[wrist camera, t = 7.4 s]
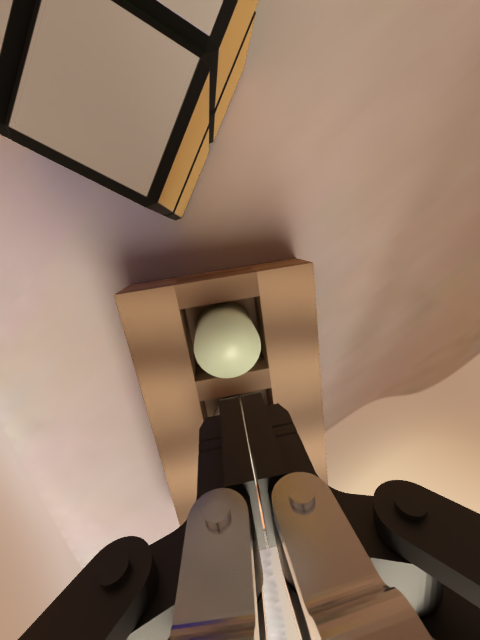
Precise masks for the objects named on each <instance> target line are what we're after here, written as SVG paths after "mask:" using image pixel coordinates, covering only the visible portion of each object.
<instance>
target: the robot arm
mask: <svg viewBox="0 0 480 640" xmlns="http://www.w3.org/2000/svg"><path fill="white" fill-rule="evenodd" d="M241 402H242V407H243V413H244V419H245V425H246V431H247V436H246V431H245V426H244V420H243V415H242V410H241V405H240V400H239V396H236V397H231V398H226V399H220V400H219V413H220V415H216V416H211V417H206V418H205V420H204V422H203V423H202V425H201V427H200V429H199V450H198V452H199V454H198V476H197V498H196V502H195V503H194V504H193V506H192V508H191V509H190V512H189V514H188V518H187V520H186V521H185V522H184V523H183V524H182V525H181V526H180V527H179V528H178V529H176V530H175V531H174V532H172V533H170V534H169V535H167V536H165V537H163V538H162V539H160V540H158V541H156V542H155V543H153V544H151V545H148V544H147V542H146V541H145V540H143V539H142V538H140V537H136V536H128V537H123V538H120V539H117V540H115V541H113V542H112V543H110V544H108V545H107V546H106V547H104V548H103V549H102V550H101V551H100V552H99V553H98V554H97V555H96V556H95V557H94V558H93V559H92V560H91V561H90V562H89V563H88V564H87V565H86V566H85V568H84V569H83V570H82V571H81V572H80V573H79V574H78V575H77V576H76V577H75V578H74V580H73V581H72V582H71V583H70V584H69V585H68V586H67V587H66V588H65V589H64V590H63V592H61V594H60V595H59V596H58V597H57V598H56V599H55V600H54V601H53V602H52V603H51V604H50V605H49V607H48V608H47V609H46V610H45V611H44V612H43V613H42V614H41V615H40V616H39V618H37V620H36V621H35V622H34V623H33V624H32V625H31V626H30V627H29V628H28V629H27V630H26V632H25V633H24V634H23V635H22V636H21V637H20V638H19V639H18V640H268V637H267V627H266V616H265V605H264V595H263V587H262V586H263V571H262V565H261V559H260V553H259V550H263V549H267V548H266V542H265V537H264V531H263V525H262V519H261V513H260V507H259V501H258V495H257V489H258V494H259V499H260V504H261V509H262V514H263V519H264V525H265V530H266V535H267V540H268V545H269V548H271V547H276V546H277V548H278V552H279V558H280V562H281V567H282V573H283V580H284V585H285V588H286V592H287V595H288V598H289V602H290V606H291V609H292V613H293V616H294V620H295V623H296V627H297V630H298V634H299V637H300V640H480V514H479V513H476V512H474V511H472V510H470V509H468V508H466V507H464V506H462V505H460V504H458V503H455V502H453V501H451V500H449V499H447V498H445V497H443V496H441V495H439V494H437V493H435V492H432V491H430V490H428V489H426V488H424V487H422V486H420V485H417V484H415V483H412V482H408V481H403V480H392V481H387V482H385V483H383V484H381V485H380V486H379V487H378V488H377V489H376V491H375V493H374V496H366V495H357V494H349V493H344V492H340V491H338V490H335V489H333V488H331V487H330V486H328V485H327V484H326V483H325V482H324V481H323V480H322V479H320V478H319V476H318V475H317V474H316V472H315V470H314V467H313V465H312V463H311V461H310V459H309V456H308V454H307V452H306V450H305V447H304V445H303V443H302V441H301V439H300V436H299V434H298V433H297V430H296V427H295V425H294V424H293V421H292V418H291V416H290V414H289V412H288V411H287V410H286V409H285V408H284V407H282V406H281V405H280V404H279V403H277V404H272V405H267V406H265V403H264V400H263V397H262V394H261V392H256V393H251V394H246V395H241ZM247 437H248V441H247ZM248 442H249V447H248ZM249 448H250V452H249ZM250 453H251V457H250ZM251 458H252V462H251ZM252 463H253V467H252ZM253 468H254V473H255V478H256V483H255V478H254V473H253ZM256 484H257V489H256Z"/></svg>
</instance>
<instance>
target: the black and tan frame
mask: <svg viewBox="0 0 480 640" xmlns="http://www.w3.org/2000/svg"><path fill="white" fill-rule="evenodd" d="M257 4H258V0H0V134H1V135H3V136H5V137H7V138H9V139H11V140H12V141H14V142H16V143H18V144H20V145H22V146H24V147H26V148H28V149H30V150H32V151H34V152H36V153H38V154H40V155H42V156H44V157H46V158H48V159H50V160H52V161H54V162H56V163H58V164H60V165H62V166H64V167H66V168H68V169H70V170H72V171H74V172H76V173H78V174H80V175H82V176H84V177H86V178H88V179H90V180H92V181H94V182H96V183H98V184H100V185H102V186H104V187H106V188H108V189H110V190H112V191H114V192H116V193H118V194H120V195H122V196H124V197H126V198H128V199H130V200H132V201H134V202H136V203H138V204H140V205H142V206H144V207H146V208H149V209H151V210H153V211H155V212H157V213H160V214H162V215H164V216H166V217H169V218H171V219H173V220H178V219H181V218H182V216H183V214H184V212H185V209H186V207H187V204H188V202H189V200H190V197H191V195H192V192H193V190H194V187H195V185H196V183H197V180H198V178H199V175H200V173H201V171H202V168H203V166H204V163H205V161H206V158H207V156H208V154H209V143H212V142H214V139H215V137H216V134H217V132H218V130H219V127H220V125H221V122H222V120H223V117H224V115H225V113H226V110H227V108H228V105H229V103H230V101H231V98H232V96H233V93H234V91H235V88H236V86H237V84H238V81H239V79H240V76H241V74H242V72H243V69H244V66H245V61H246V56H247V52H248V47H249V42H250V38H251V33H252V28H253V24H254V19H255V14H256V12H255V9H256V6H257Z"/></svg>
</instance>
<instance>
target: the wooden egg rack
mask: <svg viewBox="0 0 480 640" xmlns="http://www.w3.org/2000/svg"><path fill="white" fill-rule="evenodd" d="M114 297H115V300H116V304H117V307H118V311H119V314H120V318H121V321H122V325H123V328H124V332H125V335H126V339H127V342H128V346H129V349H130V353H131V356H132V360H133V363H134V367H135V370H136V374H137V377H138V381H139V384H140V388H141V391H142V395H143V398H144V402H145V405H146V409H147V412H148V416H149V419H150V423H151V426H152V430H153V433H154V437H155V440H156V444H157V447H158V451H159V454H160V458H161V461H162V465H163V468H164V472H165V475H166V479H167V482H168V486H169V489H170V493H171V496H172V500H173V503H174V507H175V510H176V514H177V517H178V521H179V524H180V526H181V525H182V524H183V523H184V522H185V521H186V520H187V518H188V514H189V512H190V509H191V508H192V506H193V504H194V503H195V502H196V498H197V476H198V454H199V452H198V450H199V429H200V427H201V425H202V423H203V422H204V420H205V418H206V417H211V416H213V414H214V411H215V409H216V408H217V406H218V405H219V400H220V399H226V398H229V397H232V396H235V395H246V394H251V393H256V392H261V394H262V397H263V400H264V403H265V406H267V405H272V404H277V403H279V404H280V405H281V406H282V407H284V408H285V409H286V410H287V411H288V412H289V414H290V416H291V418H292V421H293V424H294V425H295V427H296V430H297V433H298V434H299V436H300V439H301V441H302V443H303V445H304V447H305V450H306V452H307V454H308V456H309V459H310V461H311V463H312V465H313V467H314V470H315V472H316V474H317V475H318V476H319V478H320V479H322V480H323V481H324V482H325V483H326V484H327V485H328V477H327V463H326V447H325V432H324V418H323V403H322V388H321V373H320V358H319V343H318V328H317V313H316V298H315V283H314V268H313V263H312V262H309V261H305V260H301V259H297V258H294V259H288V260H282V261H276V262H270V263H263V264H257V265H251V266H245V267H239V268H232V269H226V270H220V271H214V272H208V273H201V274H195V275H189V276H183V277H177V278H170V279H164V280H158V281H152V282H146V283H139V284H133V285H129V286H127V287H126V288H124V289H123V290H121V291H120V292H118V293H116V294H115V295H114ZM227 301H232V302H235V303H237V304H239V305H240V306H242V307H243V308H244V309H245V310H246V312H247V313H248V315H249V317H250V319H251V321H252V323H253V325H254V327H255V329H256V330H257V332H258V334H259V337H260V341H261V351H260V355H259V358H258V360H257V362H256V363H255V364H254V366H253V367H252V368H251V369H250V370H249V371H247V372H246V373H244V374H242V375H240V376H237V377H234V378H219V377H215V376H213V375H211V374H209V373H207V372H206V371H204V370H203V369H202V368H201V366H200V365H199V364H198V362H197V360H196V358H195V354H194V340H195V332H196V325H197V320H198V317H199V315H200V313H201V312H202V311H203V309H204V308H205V307H207V306H208V305H210V304H215V303H221V302H227ZM263 531H266V530H265V528H264V529H263Z"/></svg>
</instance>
